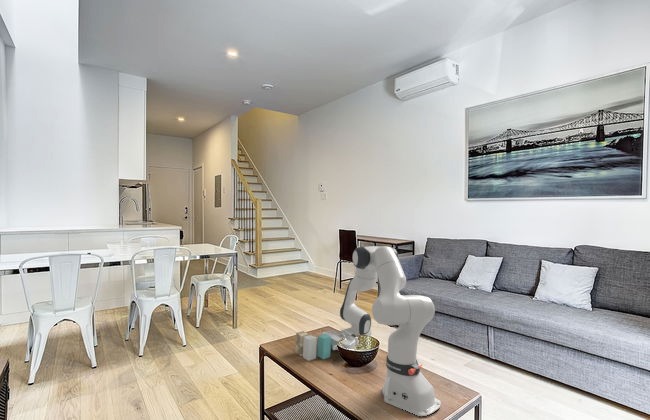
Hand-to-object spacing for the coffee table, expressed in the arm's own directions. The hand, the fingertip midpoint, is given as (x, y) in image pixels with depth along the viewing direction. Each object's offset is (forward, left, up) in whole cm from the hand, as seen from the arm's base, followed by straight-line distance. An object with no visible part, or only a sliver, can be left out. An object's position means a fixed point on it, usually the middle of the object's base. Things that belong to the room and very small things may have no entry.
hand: (326, 344), depth 164 cm
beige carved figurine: (+9, +8, -6) cm, 13 cm away
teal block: (0, +1, -6) cm, 6 cm away
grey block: (+3, +8, -6) cm, 10 cm away
